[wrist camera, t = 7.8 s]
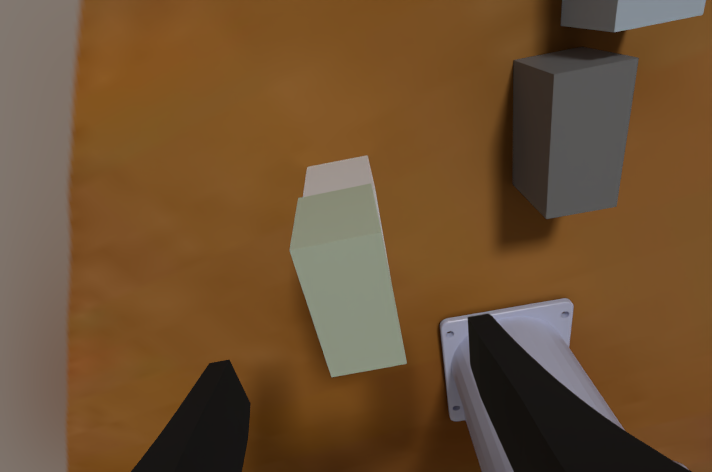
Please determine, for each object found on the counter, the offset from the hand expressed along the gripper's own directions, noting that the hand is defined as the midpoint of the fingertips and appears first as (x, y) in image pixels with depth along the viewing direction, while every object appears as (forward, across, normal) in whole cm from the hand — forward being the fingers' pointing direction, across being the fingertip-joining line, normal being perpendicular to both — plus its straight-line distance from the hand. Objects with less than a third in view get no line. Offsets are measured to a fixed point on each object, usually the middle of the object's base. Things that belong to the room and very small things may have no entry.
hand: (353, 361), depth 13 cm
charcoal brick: (+10, -10, -2) cm, 15 cm away
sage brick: (+6, 0, 0) cm, 7 cm away
